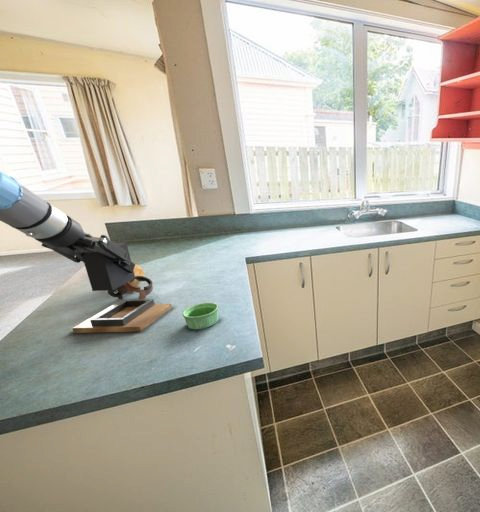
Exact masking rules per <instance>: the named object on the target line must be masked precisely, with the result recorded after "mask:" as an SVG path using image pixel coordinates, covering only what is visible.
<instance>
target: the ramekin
mask: <svg viewBox="0 0 480 512" xmlns="http://www.w3.org/2000/svg"><path fill="white" fill-rule="evenodd" d="M182 317H183V318H184V321H185V323H186V326H187V328H188V329H191V330H202V329H207V328H209V327H212V326H213V325H215V324H216V323H217V322H218V321H219V318H220V317H219V305H218V304H217V303H215V302H202V303H197V304H194V305H192V306H190V307H187V308H186V309H184V311H183V312H182Z"/></svg>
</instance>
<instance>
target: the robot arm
mask: <svg viewBox="0 0 480 512" xmlns="http://www.w3.org/2000/svg"><path fill="white" fill-rule="evenodd" d="M0 222H2V223H4V224H6V225H7V226H9V227H11V228H13V229H15V230H17V231H19V232H21V233H23V234H25V236H26V237H29V238H32V239H34V240H35V241H38V242H39V243H41V247H42V248H45V249H49V250H51V251H54V252H55V253H57V254H59V255H61V256H62V257H64V258H66V259H68V260H70V261H72V262H74V263H77V264H78V263H81V262H83V263H84V261H83V254H82V252H84V251H86V252H89V253H92V252H94V253H96V254H98V255H101V256H103V257H105V258H108V259H110V260H112V261H115V262H114V264H115V265H118V266H119V267H121V268H123V269H124V270H126V271H128V272H129V273H133V270H134V267H135V263H134V262H132V260H131V261H130V260H129V259H127V256H128V254H129V255H130V252H129V253H128V252H127V251H126V250H124V249H123V248H121V247H120V246H118V245H117V244H115V243H116V242H113V241H112V240H111V239H110V238H109V237H108V235H106V234H105V235H104V234H101V235H100V237H97V236H93V235H92V234H90V233H87V232H85V231H84V229H83V227H82V225H81V224H80V223H79V222H78V221H77V220H75V219H74V218H72V217H71V216H69V215H67V214H66V213H65V212H63V211H62V210H61V209H59V208H58V207H56V206H55V205H53V204H51V203H49V202H48V201H46V200H44V199H43V198H41V197H40V196H39V195H37V194H36V193H34V192H33V191H31V190H30V189H28V188H27V187H26V186H24V185H23V184H21V183H20V182H19V181H18V180H17V179H15V178H14V177H12V176H9V175H8V174H6V173H4V172H2V171H0Z"/></svg>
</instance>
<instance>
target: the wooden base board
mask: <svg viewBox="0 0 480 512" xmlns="http://www.w3.org/2000/svg"><path fill="white" fill-rule="evenodd" d="M172 308H173V305H172V303H155V301H154V298H153V299H152V298H150V299H149V298H148V299H147V298H146V299H145V298H144V299H124V300H122V301H120V302H119V303H117V304H112V305H110V306H108V307H107V308H105V309H103V310H102V311H100V312H98V313H96V314H94V315H93V316H91V317H89V318H88V319H86V320H83V321H82V322H80V323H79V324H77V325H75V326H74V327H72V328H71V329H72V332H73V333H74V334H79V333H80V334H81V333H82V334H83V333H85V334H87V333H127V332H129V333H130V332H131V333H132V332H142V331H144V330H145V329H146V328H147V327H149V326H150V325H152V324H153V323H154V322H155V321H157V320H158V319H159V318H161V317H162V316H164V314H166V313H168V312H169V311H170V310H171V309H172Z"/></svg>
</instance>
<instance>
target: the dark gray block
mask: <svg viewBox="0 0 480 512" xmlns="http://www.w3.org/2000/svg"><path fill="white" fill-rule="evenodd" d="M114 243H115V244H117V245H118V246H120V247H121V248H123V249H124V250H126V251H127V252H128V253H129V254H128V256H127V259H129V260H130V261H131V262H132V258H131V255H130V251H129V248H128V243H127V242H114ZM82 254H83V261H84V262H83V261H82V262H83V264H84V267H85V270H86V274H87V277H88V280H89V284H90V286H91V290H92V292H107V291H113V290H115V289H116V288H118V287H120V286H122V285H124V284H126V283H127V282H129V281H131V280H133V279H135V275H134V271H133V273H129V272H128V271H126V270H124V269H123V268H121V267H119V266H118V265H115V264H114V262H115V261H112V260H110V259H108V258H105V257H103V256H101V255H98V254H96V253H94V252H92V253H89V252H86V251H84V252H82Z"/></svg>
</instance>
